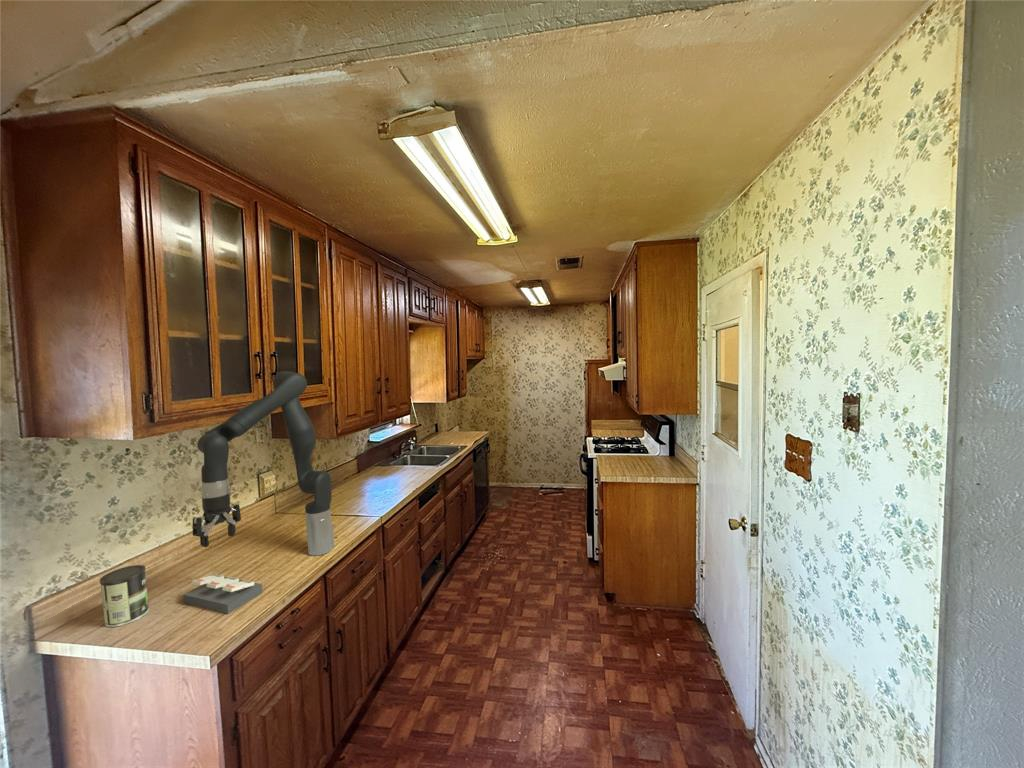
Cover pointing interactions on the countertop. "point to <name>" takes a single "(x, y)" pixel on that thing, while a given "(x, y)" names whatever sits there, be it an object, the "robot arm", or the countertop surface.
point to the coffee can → (124, 595)
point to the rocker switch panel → (221, 597)
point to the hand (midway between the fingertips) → (218, 541)
